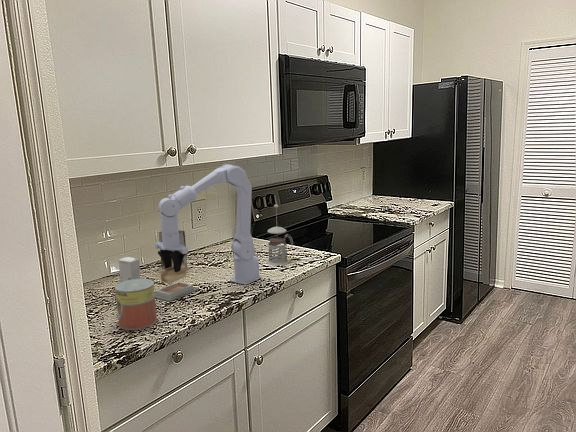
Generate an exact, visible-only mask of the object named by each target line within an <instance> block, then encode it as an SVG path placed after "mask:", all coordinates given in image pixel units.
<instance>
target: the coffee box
mask: <svg viewBox="0 0 576 432" xmlns="http://www.w3.org/2000/svg"><path fill="white" fill-rule="evenodd" d="M178 230H179V243H180V244H181V245H183V246H185V247H187V244H186V232H185V230H180V229H178ZM158 242H162V230H161V231H159V232H158ZM160 250H161V249H160V248H159V251H160ZM173 253H175V252H174V251H173ZM160 263H161V265H160V266H161V270H163V269H165V266H164V263H163V261H162V259H161V258H160ZM182 265H183V266H186V270H187V269H188V260H187V253H186V254H185V256H184V258H183V261H182ZM172 266H173V261H172Z"/></svg>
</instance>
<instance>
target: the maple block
mask: <svg viewBox="0 0 576 432" xmlns="http://www.w3.org/2000/svg"><path fill="white" fill-rule="evenodd" d="M184 278H187V269H186V266H183V265H181V270H180V271H179V272H175V271H174V266H172V267H169V268H166V269H163V270H162V269H160V281H161V282H162V283H166V284H173V283H175V282H178V281H179V280H182V279H184Z"/></svg>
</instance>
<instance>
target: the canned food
mask: <svg viewBox="0 0 576 432" xmlns="http://www.w3.org/2000/svg"><path fill="white" fill-rule="evenodd" d="M114 289H115V301H116V310H117V319H118V324H117V325H118V327H119V328H120V329H122V330H127V331H136V330H143V329H146V328H149V327H151V326H153V325H154V324H156V323H157V321H158V317H157V308H156V307H157V306H156V305H157V304H156V298H155V281H154V280H152V279H150V278H143V277H142V278H141V277H140V278H139V279H130V280H126V281H123V282H120V281H119V282H118V283H117V284H115V286H114Z"/></svg>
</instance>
